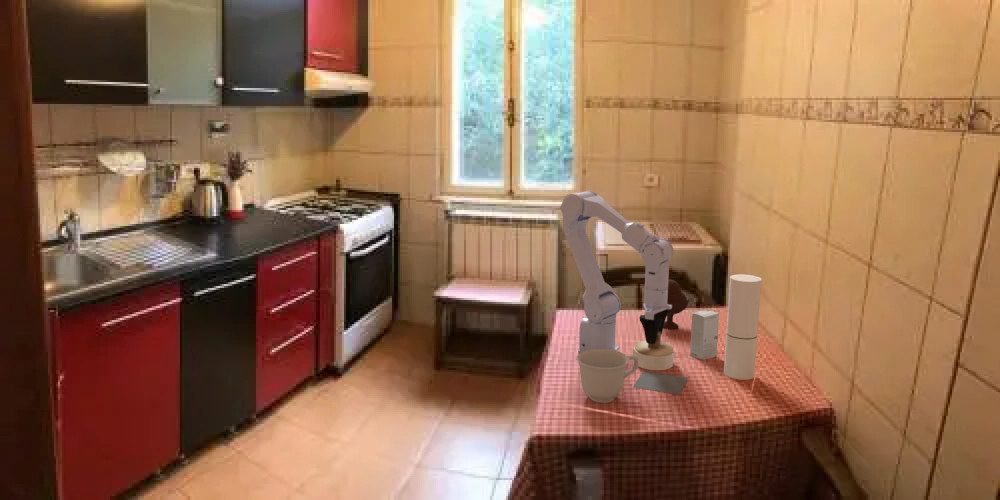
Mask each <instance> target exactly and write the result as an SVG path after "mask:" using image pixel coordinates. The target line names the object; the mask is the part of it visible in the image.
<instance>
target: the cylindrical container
mask: <svg viewBox="0 0 1000 500" xmlns="http://www.w3.org/2000/svg"><path fill="white" fill-rule="evenodd" d="M762 281H763V280H762V278H761V277H759V276H756V275H752V274H743V273H740V274H732V275H730V276H729V286H728V287H729V289H728V300H727V301H728V302H727V317H726V319H727V321H726V334H725V350H724V364H723V374H724V375H725V377H728V378H731V379H733V380H741V381H742V380H746V381H747V380H752V379H753V380H754V379H755V374H756V373H755V372H756V371H755V370H756V360H757V359H756V357H757V356H756V355H757V343H758V333H759V332H758V330H759V319H760V318H759V317H760V305H761V292H762Z"/></svg>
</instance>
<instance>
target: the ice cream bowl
mask: <svg viewBox="0 0 1000 500" xmlns="http://www.w3.org/2000/svg"><path fill="white" fill-rule="evenodd" d="M689 301H690V296H689V295H686V294H685V293H684V292H683V291H682V288H681V286H680V284H679V283H678V282H677V281H676V280H675V279H668V298H667V304H668V305H672V308H671V309H670V311H669V312H668V314H667V317H666V320H665V323H664V327H663V330H670V331H671V330H678V329H679V328H678V327H679V324H677V323H675V322H674V319H673V318H674V315H677V314H680V313H682V312H683V311H684V310H686V309H687V307H688V305H689Z"/></svg>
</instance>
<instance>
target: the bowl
mask: <svg viewBox="0 0 1000 500" xmlns="http://www.w3.org/2000/svg"><path fill="white" fill-rule="evenodd" d="M632 349H633V350H632V355H635V356H636V357H637V358H638V362H639V365H638V368H642V369H645V370H648V371H663V370H668V369H670V368H673V366H674V363H675V361H674V360H675V349H673V353H672V354H670V355H667V356H648V355H644V354H641V353H639V352H637V351H636V350H635V346H633V348H632ZM632 362H633V364H634V360H633V359H632Z"/></svg>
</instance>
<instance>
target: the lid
mask: <svg viewBox="0 0 1000 500" xmlns="http://www.w3.org/2000/svg"><path fill="white" fill-rule="evenodd" d="M661 335H662V334H661V332H659V331H658V334H657V339H656V342H655V344H650V343H647V342H646V340H640V341H638V342H636V343H635V345H634V347H635V350H636V351H637V352H639V353H641V354H644V355H648V356H667V355H670V354H672V353H673V350H674V346H673V345H672V344H670V343H669V342H665V341H661V337H662V336H661Z"/></svg>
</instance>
